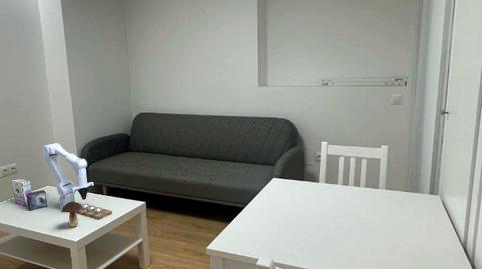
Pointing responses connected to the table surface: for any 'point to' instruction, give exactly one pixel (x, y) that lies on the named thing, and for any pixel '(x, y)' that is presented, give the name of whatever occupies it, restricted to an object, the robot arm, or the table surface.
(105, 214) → the button panel
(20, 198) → the candy box
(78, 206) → the decorative mushroom
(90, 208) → the button middle
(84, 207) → the button
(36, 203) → the small box
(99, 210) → the button
